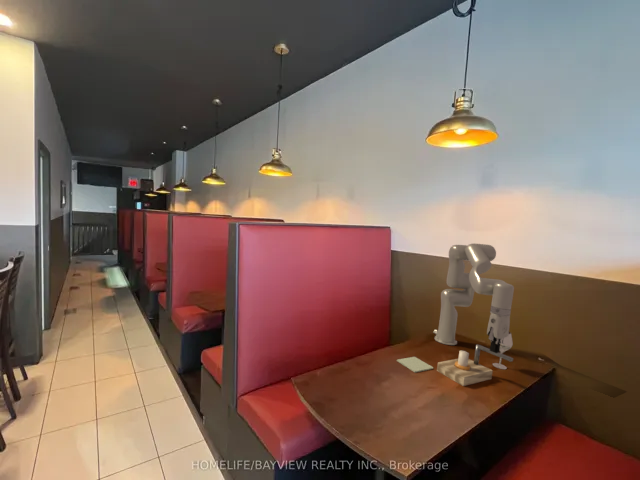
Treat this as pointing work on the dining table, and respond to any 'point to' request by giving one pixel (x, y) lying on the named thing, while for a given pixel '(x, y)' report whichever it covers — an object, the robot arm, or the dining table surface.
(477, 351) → the grey bar
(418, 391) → the dining table surface
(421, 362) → the mat
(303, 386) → the dining table surface
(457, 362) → the plug
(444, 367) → the socket block
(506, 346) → the wineglass
